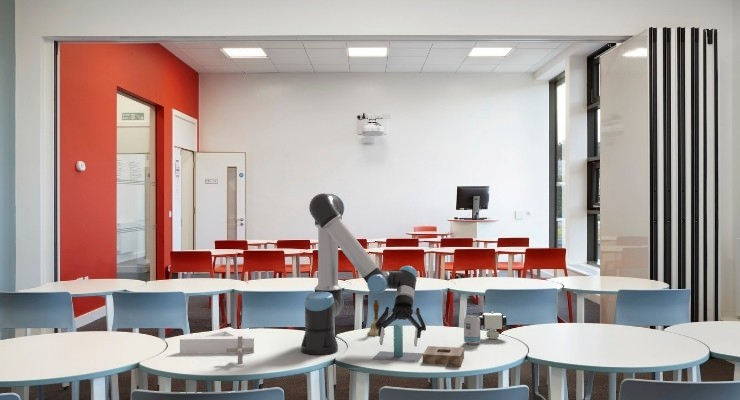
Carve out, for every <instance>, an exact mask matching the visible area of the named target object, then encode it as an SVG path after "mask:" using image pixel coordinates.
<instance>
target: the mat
mask: <svg viewBox="0 0 740 400" xmlns="http://www.w3.org/2000/svg"><path fill="white" fill-rule="evenodd" d="M423 353H424V352H423ZM423 353H422V352H404V351H403V357H394V351H387V350H386V351H383V350H382V351H381V350H380V351H378V353H377V354H375V356H373V358H371V360H374V361H375V360H377V361H393V362H394V361H396V362H414V363H419V362H420V360H421V358H423Z"/></svg>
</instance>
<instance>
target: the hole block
mask: <svg viewBox="0 0 740 400" xmlns="http://www.w3.org/2000/svg"><path fill="white" fill-rule="evenodd" d="M464 359H465V347H456V346H455V347H454V346H453V347H452V346H434V345H433V346H432V345H427V346H426V348H425V350H424V352H423V356H422V364H423V365H424V364H425V365H426V364H427V365H442V366H444V365H445V366H446V367H455V368H461V367H462V364H463V361H464Z"/></svg>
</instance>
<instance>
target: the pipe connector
mask: <svg viewBox="0 0 740 400" xmlns="http://www.w3.org/2000/svg"><path fill="white" fill-rule="evenodd" d="M227 352H236V353H235V354H236V356H237V364H238V365H240V364H241V365H242V364H243V363H244V362H243V361H244V359H243V358H244V357H243V356H244V355H243V354H244V353H243V352H254V353H255V346H254V347H244V345H243V336H238V347H227Z"/></svg>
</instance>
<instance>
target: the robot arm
mask: <svg viewBox="0 0 740 400" xmlns="http://www.w3.org/2000/svg"><path fill="white" fill-rule="evenodd" d="M344 211H345V204H344V202H343V200H342V199H341V198H340V197H339V196H337V195H336V194H333V193H318V194H316V195H314V196H313V197H312V199H311V200H310V202H309V212H310V215H311V217H312V218H313V219H314V226H315V227H316V228H317V229H318V230H317V231H318V232H317V234H318V238H317V239H318V245H317V247H318V249H317V255H318V258H317V263H318V264H317V285H316V286H315V287H314V292H311V293H309V294H307V295H306V296H305V298H304V319H305V320H304V329H305V331H304V335H303V338H302V342H301V345H300V351H301V352H302V354H306V355H316V356H317V355H318V356H320V355H321V356H322V355H328V354H329V355H330V354H333V353H337V352H338V351H339V345H338V341H337V339H336V335H335V331H334V326H335V325H334V319H335V318H337V317H338V316H339V315H340V314H341V313H342V311H343V309H344V305H345V303H344V297H343V296H342V287H341V286H340V284H339V248H340V250H341V251H342V252H343V254H344V255H345V257H346V258H347V259H348V261H349V262H350V263H351V264H352V265H353V266H354V268H355V269H356V270H357V272H358V273H359V275H360V276H361V277H362V279H363V280H364V281H365V283H366V286H367V289H368V290H369V291H370V292H371V293H373V294H381V293H384V292H385V291H386V290H396V292H395V299H394V305H393V308H390V307H389V306H386V307H385V310H384V312H383V313H382V314H381V315H380V317H378V321H377V322H376V323H375V326H376V329H379V332H378V335H379V336H378V337H379V340H378V341H379V345H380V346H383V343H384V342H383V341H384V338H385V335H384V333H386V332H385V329H386V328H387V327H388V326H389V325H390V324H391V323H394V322H395V321H397V320H398V321H399V320H400V321H401V320H405V321H406V320H408V321H409V322H410V323H411V324H412V325H413V326H414V328H415V331H414V338H413V344H414V347H417V346H418V341H419V340H418V339H421V336H422V332H423V331H426V330H427V326H426V323H425V321H424V320H423V317H422V316H421V311H420V308H419V307H416V308H415V309H414V299H415V291H416V284H417V278H418V277H417V276H418V275H417V274H418V271H417V270H416V269H415V268H414V267H413V266H412V265H411V266H410V265H405V266H402V267H400V268H399V271H394V270H381V269H380V267H378V265H377V264H376V262H374V260H373V258H372V257H371V256H370V254H369V253H368V252H367V251H366V250H365V248H364V247H363V246H362V245H361V243H360V242H359V240H357V238H356V237H355V235H354V234H353V233H352V232H351V230H350V229H349V228H348V226H347V225H346V224H345V223H344V221H343V219H342V217H343V215H344ZM413 314H414V315H415V316H416V317H417V320H418V322H419V323H420V324H419V323H418V322H417V321H416V319H415V318H414V317H413Z"/></svg>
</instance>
